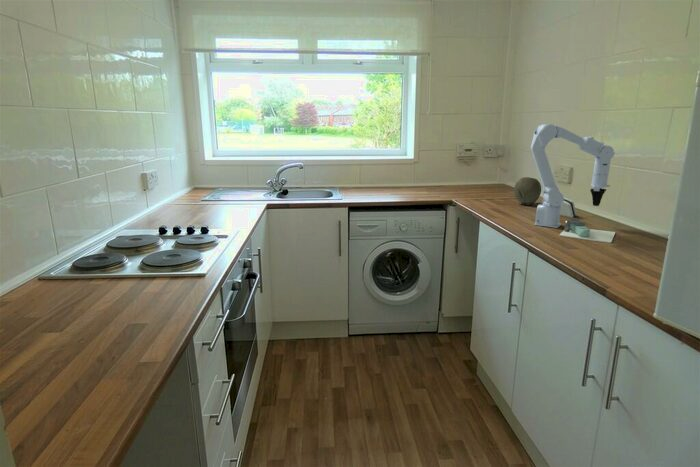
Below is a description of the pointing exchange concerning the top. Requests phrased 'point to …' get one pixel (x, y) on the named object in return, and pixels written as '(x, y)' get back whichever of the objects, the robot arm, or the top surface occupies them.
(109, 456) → the top surface
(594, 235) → the plate
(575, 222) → the keeper
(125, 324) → the top surface
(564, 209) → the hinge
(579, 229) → the link
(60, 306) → the top surface
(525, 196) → the cantaloupe
